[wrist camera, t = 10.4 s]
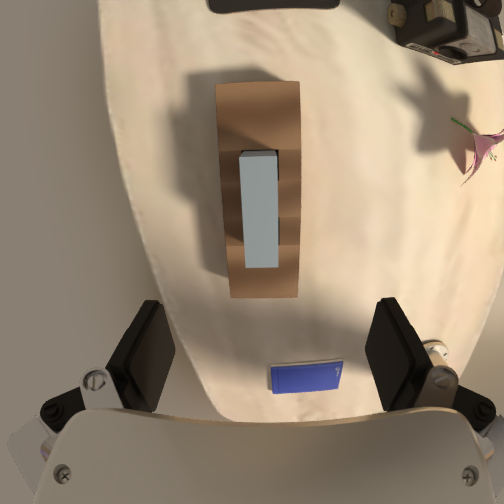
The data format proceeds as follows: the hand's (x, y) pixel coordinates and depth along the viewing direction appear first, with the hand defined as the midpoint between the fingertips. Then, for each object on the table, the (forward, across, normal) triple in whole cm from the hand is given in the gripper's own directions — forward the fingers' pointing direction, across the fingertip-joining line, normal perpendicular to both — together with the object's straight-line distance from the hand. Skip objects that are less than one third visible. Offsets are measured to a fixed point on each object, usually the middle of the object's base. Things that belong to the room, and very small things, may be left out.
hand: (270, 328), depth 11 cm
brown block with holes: (+22, +1, -1) cm, 22 cm away
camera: (+23, -20, -26) cm, 40 cm away
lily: (+23, -27, -8) cm, 36 cm away
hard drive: (+23, -6, +32) cm, 40 cm away
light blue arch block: (+22, +1, -1) cm, 22 cm away
